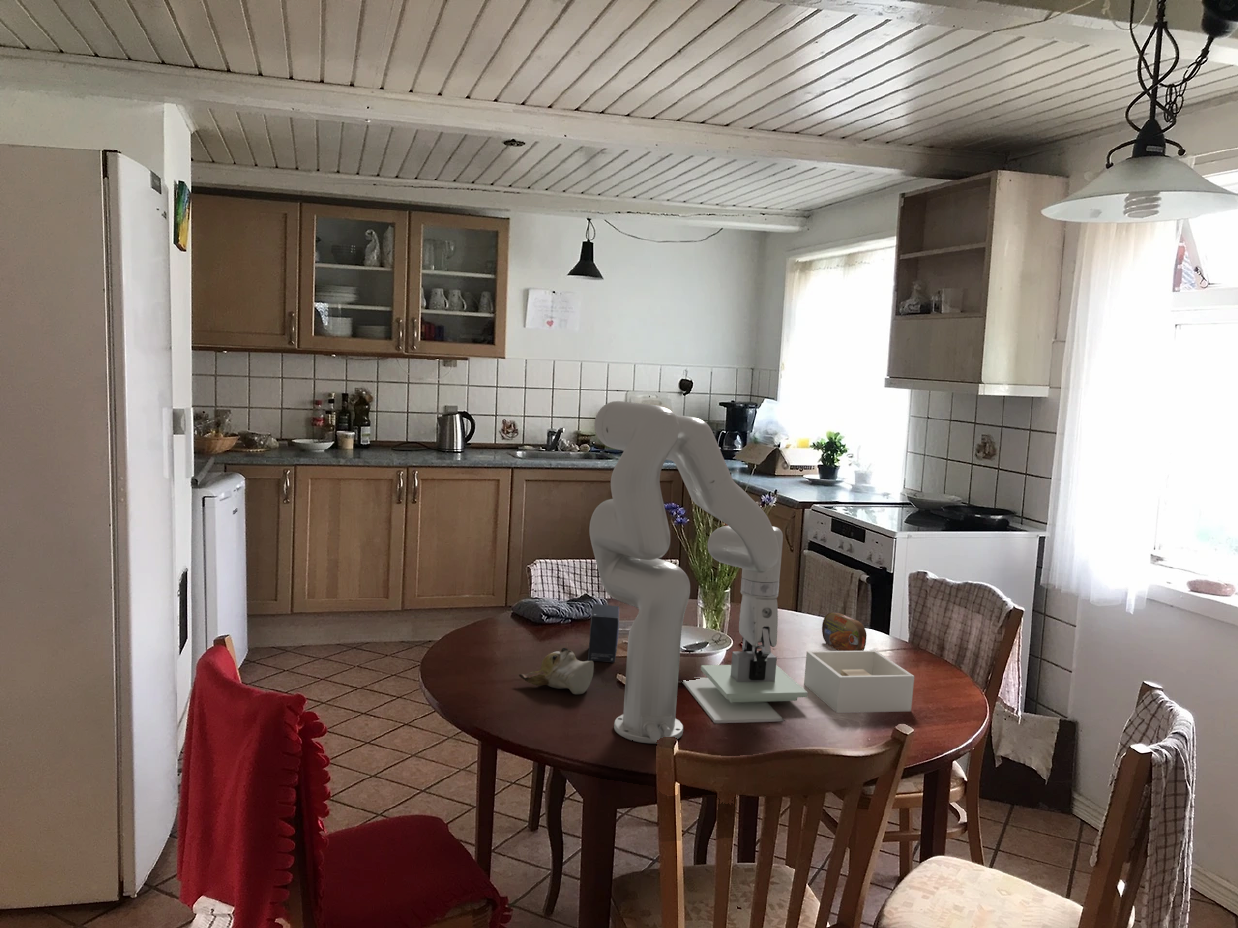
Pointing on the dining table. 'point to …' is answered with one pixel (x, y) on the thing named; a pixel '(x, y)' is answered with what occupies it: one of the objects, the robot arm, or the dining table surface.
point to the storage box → (858, 682)
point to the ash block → (854, 672)
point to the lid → (742, 689)
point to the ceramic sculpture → (562, 672)
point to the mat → (729, 705)
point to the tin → (843, 632)
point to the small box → (603, 633)
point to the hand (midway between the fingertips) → (752, 674)
